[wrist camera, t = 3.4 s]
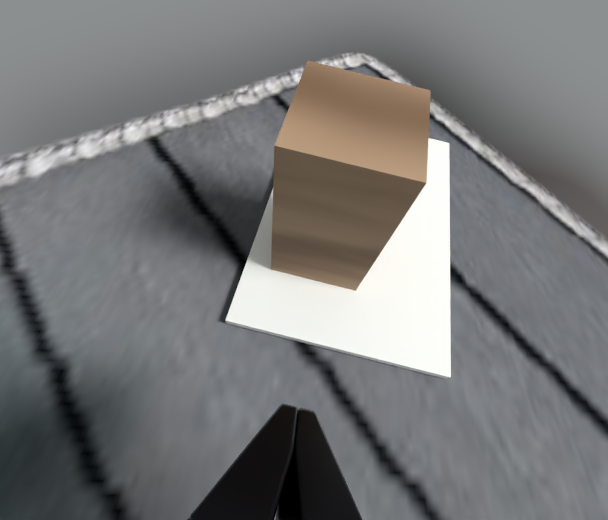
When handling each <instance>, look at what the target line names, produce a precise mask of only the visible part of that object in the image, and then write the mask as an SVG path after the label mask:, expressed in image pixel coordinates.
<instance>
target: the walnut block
mask: <svg viewBox="0 0 608 520" xmlns="http://www.w3.org/2000/svg"><path fill="white" fill-rule="evenodd" d="M429 112H430V90H426V89H422V88H418V87H414V86H410V85H406V84H402V83H398V82H393V81H389V80H385V79H381V78H377V77H373V76H369V75H365V74H360V73H356V72H352V71H348V70H344V69H340V68H336V67H331V66H327V65H323V64H319V63H315V62H311V61H308V62H307V64H306V66H305V69H304V72H303V74H302V77H301V79H300V82H299V84H298V87H297V89H296V92H295V95H294V97H293V100H292V102H291V105H290V107H289V110H288V113H287V115H286V118H285V120H284V123H283V125H282V128H281V130H280V133H279V136H278V138H277V141H276V143H275V149H274V181H273V214H272V246H271V270H275V271H279V272H283V273H287V274H291V275H295V276H299V277H303V278H307V279H310V280H314V281H318V282H322V283H326V284H330V285H334V286H338V287H342V288H346V289H350V290H354V291H356V290H357V288H358V287H359V285H360V283H361V282H362V280H363V279H364V277H365V276H366V274H367V273H368V271H369V270H370V268H371V267H372V265H373V264H374V262H375V261H376V259H377V258H378V256H379V255H380V253H381V252H382V250H383V248H384V247H385V245H386V244H387V242H388V241H389V239H390V238H391V236H392V235H393V233H394V232H395V230H396V229H397V227H398V226H399V224H400V223H401V221H402V220H403V218H404V217H405V215H406V213H407V212H408V210H409V209H410V207H411V206H412V204H413V203H414V201H415V200H416V198H417V197H418V195H419V194H420V192H421V191H422V189H423V188H424V186H425V185H426V183H427V160H428V136H429Z"/></svg>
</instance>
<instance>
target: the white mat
mask: <svg viewBox="0 0 608 520" xmlns="http://www.w3.org/2000/svg"><path fill="white" fill-rule="evenodd" d="M272 214H273V189H272V192H271V195H270V198H269V201H268V203H267V206H266V209H265V212H264V215H263V217H262V220H261V223H260V226H259V228H258V231H257V234H256V237H255V240H254V242H253V245H252V248H251V251H250V253H249V256H248V259H247V262H246V265H245V267H244V270H243V273H242V276H241V279H240V281H239V284H238V287H237V290H236V292H235V295H234V298H233V301H232V304H231V306H230V309H229V312H228V315H227V317H226V320H225V321H226V323H227V324H231V325H235V326H239V327H243V328H247V329H251V330H255V331H259V332H263V333H267V334H271V335H274V336H278V337H282V338H286V339H290V340H294V341H298V342H302V343H306V344H310V345H314V346H318V347H322V348H326V349H330V350H334V351H338V352H342V353H346V354H350V355H353V356H357V357H361V358H365V359H369V360H373V361H377V362H381V363H385V364H389V365H393V366H397V367H401V368H405V369H409V370H413V371H417V372H421V373H425V374H429V375H432V376H436V377H440V378H444V379H447V378H451V353H450V190H449V143H446V142H442V141H438V140H434V139H430V138H428V160H427V183H426V185H425V186H424V188H423V189H422V191H421V192H420V194H419V195H418V197H417V198H416V200H415V201H414V203H413V204H412V206H411V207H410V209H409V210H408V212H407V213H406V215H405V217H404V218H403V220H402V221H401V223H400V224H399V226H398V227H397V229H396V230H395V232H394V233H393V235H392V236H391V238H390V239H389V241H388V242H387V244H386V245H385V247H384V248H383V250H382V252H381V253H380V255H379V256H378V258H377V259H376V261H375V262H374V264H373V265H372V267H371V268H370V270H369V271H368V273H367V274H366V276H365V277H364V279H363V280H362V282H361V283H360V285H359V287H358V288H357V290H356V291H354V290H350V289H346V288H342V287H338V286H334V285H330V284H326V283H322V282H318V281H314V280H310V279H307V278H303V277H299V276H295V275H291V274H287V273H283V272H279V271H275V270H271V246H272Z"/></svg>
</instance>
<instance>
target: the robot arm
mask: <svg viewBox="0 0 608 520" xmlns="http://www.w3.org/2000/svg"><path fill="white" fill-rule="evenodd" d="M276 511H277V513H276ZM275 514H276V520H362V518H361V516H360V513H359V511H358V509H357V507H356V504H355V502H354V500H353V497H352V495H351V493H350V491H349V488H348V486H347V484H346V481H345V479H344V477H343V474H342V472H341V470H340V468H339V465H338V463H337V461H336V458H335V456H334V454H333V452H332V449H331V447H330V445H329V442H328V440H327V438H326V435H325V433H324V431H323V429H322V426H321V424H320V422H319V419H318V417H317V415H316V413H315V412H314V411H311V410H307V409H303V408H300V409H299V410H298V409H297V407H295V406H291V405H287V404H281V405H280V406H279V407H278V409H277V410H276V411H275V412H274V414H273V415H272V416H271V417H270V418H269V420H268V421H267V422H266V423H265V425H264V426H263V427H262V428H261V430H260V431H259V432H258V433H257V434H256V436H255V437H254V438H253V439H252V441H251V442H250V443H249V444H248V445H247V447H246V448H245V449H244V450H243V452H242V453H241V454H240V455H239V457H238V458H237V459H236V460H235V461H234V463H233V464H232V465H231V466H230V468H229V469H228V470H227V471H226V472H225V474H224V475H223V476H222V477H221V479H220V480H219V481H218V482H217V484H216V485H215V486H214V487H213V488H212V490H211V491H210V492H209V493H208V495H207V496H206V497H205V498H204V500H203V501H202V502H201V503H200V504H199V506H198V507H197V508H196V509H195V511H194V512H193V513H192V514H191V516H190V518H189V519H187V520H274V518H275Z"/></svg>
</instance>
